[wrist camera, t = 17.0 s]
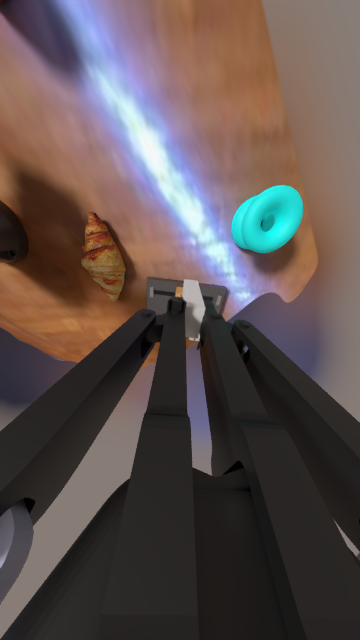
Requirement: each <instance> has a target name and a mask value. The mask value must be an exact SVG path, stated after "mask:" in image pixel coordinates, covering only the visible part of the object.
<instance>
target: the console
mask: <svg viewBox="0 0 360 640" xmlns="http://www.w3.org/2000/svg"><path fill="white" fill-rule="evenodd" d="M183 284H184V281H178V280H170V279H162V278H155V277H148V278H147V309H150V310H153V311H155V312H156V315H162V314H165V313H166V312H167V304H168V299H170V298H171V297H172V296H175V295H176V288H177V287H183ZM198 284H199V287H200V291H201V294H202V298H203V299H204V300H210V301H211V302H213V304H214V307H215V309H216V312H217V313H218V314H219V313H220V310H221V307H222V303H223V300H224V297H225V293H226V290H227V288H226V287H225V286H218V285H210V284H202V283H198Z"/></svg>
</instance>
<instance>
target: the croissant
mask: <svg viewBox="0 0 360 640" xmlns="http://www.w3.org/2000/svg"><path fill="white" fill-rule="evenodd" d="M87 218H88V225H87V226H86V228H85V243H84V246H82V249H83V258H82V260H81V263H82V266H83V267H85V269H87V270H89V273H90V275H91V277H92V278H93V279H94V280H95V281H96V282H98V283H99V284H100V286H101V288H102V290H103V292H105V293H106V294H107V295H108V297H109V299H110V300H111V301H116V300H117V299H118V297H119V294H120V292H121V290H122V287H123V284H124V276H125V271H126V268H125V265H124V262H123V260H122V256H121V253H120V251H119V249H118V247H117V246H116V244H115V242H114V240H113V238H112V236H111V235H110V233H109V232H108V229H107V227H106V225H105V224H104V223H103V222H102V221H101V219H100V218H99V217H98V216H97V214H96V213H93V212H89V213H88V214H87Z"/></svg>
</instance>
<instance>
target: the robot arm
mask: <svg viewBox="0 0 360 640" xmlns="http://www.w3.org/2000/svg"><path fill="white" fill-rule="evenodd" d="M27 250H28V242H27V238H26V235H25V232H24V230H23V228H22V226H21V224H20V222H19V221H18V219H17V218H16V217H15V215H14V214H13V213H12V212H11V211H10V210H9V208H8V207H6V206H5V205H4V204H3V203H2V202H1V201H0V263H9V262H15V261H19V260H21V259H23V258H24V257H25V255H26V253H27ZM199 333H200V339H199V343H198V347H197V350H198V349H199V348H200V355H201V363H202V371H203V379H204V386H205V394H206V402H207V408H208V417H209V424H210V432H211V440H212V458H211V468H212V476H211V475H208V474H206V473H204V472H202V471H200V470H197V469H195V468H193V467H192V448H191V427H190V418H189V417H188V414H187V387H186V386H187V384H186V338H185V337H189V338H198V337H199ZM155 342H160V347H159V352H158V357H157V362H156V367H155V372H154V377H153V382H152V387H151V391H150V396H149V401H148V407H147V410H146V413H145V414H144V418H143V421H142V426H141V430H140V435H139V440H138V444H137V449H136V454H135V458H134V463H133V468H132V472H131V477H130V479H128V480H127V481H125V482H124V483H123V484H122V485H121V486H120V487H118V488H117V490H116V491H115V492H114V493H113V494H112V495H111V496H110V497H109V498H108V499H107V501H106V502H105V503H104V504H103V506H102V507H101V508H100V510H99V511H98V512H97V514H96V515H95V516H94V518H93V519H92V520H91V521H90V523H89V524H88V525H87V527H86V528H85V529H84V531H83V532H82V533H81V534H80V536H79V537H78V538H77V540H76V541H75V542H74V544H73V545H72V546H71V547H70V549H69V550H68V551H67V553H66V554H65V556H64V557H63V558H62V559H61V561H60V562H59V563H58V565H57V566H56V567H55V569H54V570H53V571H52V572H51V574H50V575H49V576H48V578H47V579H46V580H45V582H44V583H43V584H42V586H41V587H40V588H39V590H38V591H37V592H36V593H35V595H34V596H33V597H32V599H31V600H30V601H29V603H28V604H27V605H26V606H25V608H24V609H23V610H22V612H21V613H20V614H19V616H18V617H17V618H16V620H15V621H14V622H13V623H12V625H11V626H10V627H9V629H8V630H7V631H6V633H5V634H4V635H3V637H2V638H1V639H0V640H360V553H359V554H358V555H357V557H356V556H355V555H354V553H353V552H352V551H351V550H350V549H349V548H348V547H347V545H346V543H345V541H344V539H343V537H342V535H341V533H340V531H339V529H338V527H337V525H336V523H335V522H334V520H335V521H336V522H337V524H338V525H339V527H340V528H341V529H342V531H343V532H344V533H345V534H346V536H347V537H348V538H349V539H350V540H351V542H352V543H353V544H354V545H355V546H356V548H357V549H358V550H359V551H360V423H359V422H358V421H357V420H356V419H355V418H354V417H353V416H352V415H351V414H350V413H348V412H347V411H346V410H345V409H344V408H343V407H342V406H341V405H340V404H339V403H337V402H336V401H335V400H334V399H333V398H332V397H331V396H330V395H329V394H328V393H327V392H325V391H324V390H323V389H322V388H321V387H320V386H319V385H318V384H317V383H316V382H314V381H313V380H312V379H311V378H310V377H309V376H308V375H307V374H306V373H305V372H304V371H302V370H301V369H300V368H299V367H298V366H297V365H296V364H295V363H294V362H293V361H291V360H290V359H289V358H288V357H287V356H286V355H285V354H284V353H283V352H282V351H281V350H279V349H278V348H277V347H276V346H275V345H274V344H273V343H272V342H271V341H270V340H269V339H267V338H266V337H265V336H264V335H263V334H262V333H261V332H260V331H259V330H257V329H256V328H255V327H254V326H253V325H252V324H251V323H249V322H247V321H245V320H236V321H235V322H234V324H231V323H228V322H225V320H224V318H223V316H222V315H220V314H218V313H217V312H216V309H215V307H214V304H213V302H211V301H210V300H204V299H203V298H202V294H201V291H200V287H199V284H198V281H194V280H186V279H184V284H183V292H182V297H177V296H172V297H171V298H170V299H168V304H167V312H166V313H165V314H162V315H156V312H155V311H153V310H150V309H142V310H139V311H138V312H136V313H135V314H134V315H133V316H132V317H131V318H130V319H128V320H127V321H126V322H125V323H124V324H123V325H122V326H120V327H119V328H118V329H117V330H116V331H115V332H114V333H112V334H111V335H110V336H109V337H108V338H107V339H106V340H104V341H103V342H102V343H101V344H100V345H99V346H98V347H96V348H95V349H94V350H93V351H92V352H91V353H90V354H88V355H87V356H86V357H85V358H84V359H83V360H82V361H80V362H79V363H78V364H77V365H76V366H75V367H74V368H73V369H71V370H70V371H69V372H68V373H67V374H66V375H64V376H63V377H62V378H61V379H60V380H59V381H58V382H57V383H55V384H54V385H53V386H52V387H51V388H50V389H48V390H47V391H46V392H45V393H44V394H43V395H42V396H40V397H39V398H38V399H37V400H36V401H35V402H33V403H32V404H31V405H30V406H29V407H28V408H27V409H25V410H24V411H23V412H22V413H21V414H20V415H19V416H18V417H16V418H15V419H14V420H13V421H12V422H11V423H9V424H8V425H7V426H6V427H5V428H4V429H3V430H1V431H0V604H1V602H2V601H3V599H4V598H5V596H6V595H7V593H8V592H9V590H10V588H11V587H12V585H13V584H14V582H15V581H16V579H17V578H18V576H19V574H20V572H21V570H22V568H23V566H24V564H25V562H26V560H27V557H28V555H29V551H30V548H31V545H32V540H33V533H34V531H33V526H34V524H35V523H36V522H37V521H38V520H39V519H40V517H41V516H42V515H43V514H44V513H45V511H46V510H47V509H48V508H49V506H50V505H51V504H52V502H53V501H54V500H55V498H56V497H57V496H58V495H59V493H60V492H61V491H62V489H63V488H64V486H65V484H66V483H67V482H68V480H69V479H70V477H71V476H72V474H73V473H74V472H75V470H76V468H77V467H78V465H79V464H80V462H81V461H82V459H83V457H84V456H85V454H86V453H87V451H88V450H89V448H90V446H91V445H92V443H93V442H94V440H95V438H96V437H97V435H98V434H99V432H100V430H101V429H102V427H103V426H104V424H105V423H106V421H107V420H108V418H109V416H110V415H111V413H112V412H113V410H114V408H115V407H116V405H117V404H118V402H119V401H120V399H121V397H122V396H123V394H124V393H125V391H126V389H127V388H128V386H129V385H130V383H131V382H132V380H133V379H134V377H135V375H136V374H137V372H138V371H139V369H140V367H141V366H142V364H143V363H144V361H145V360H146V358H147V356H148V355H149V353H150V352H151V350H152V349H153V347H154V345H155ZM245 346H247V347H248V348H249V349H248V350H247V352H245V351H244V348H245ZM332 517H333V518H332ZM333 519H334V520H333Z"/></svg>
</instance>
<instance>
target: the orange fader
mask: <svg viewBox="0 0 360 640" xmlns="http://www.w3.org/2000/svg"><path fill="white" fill-rule="evenodd" d="M182 292H183V287H177V288H176V295H175V296H177V297H182Z"/></svg>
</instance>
